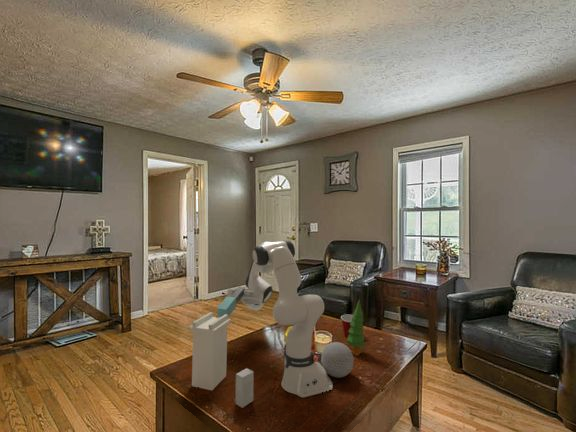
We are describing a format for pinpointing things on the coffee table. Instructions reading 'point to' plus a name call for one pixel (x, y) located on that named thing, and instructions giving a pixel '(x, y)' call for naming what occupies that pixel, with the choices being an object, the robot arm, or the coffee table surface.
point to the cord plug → (230, 302)
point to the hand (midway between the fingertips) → (239, 290)
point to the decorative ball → (337, 359)
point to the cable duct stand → (209, 350)
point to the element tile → (287, 332)
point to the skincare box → (244, 387)
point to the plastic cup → (346, 323)
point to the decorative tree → (356, 330)
